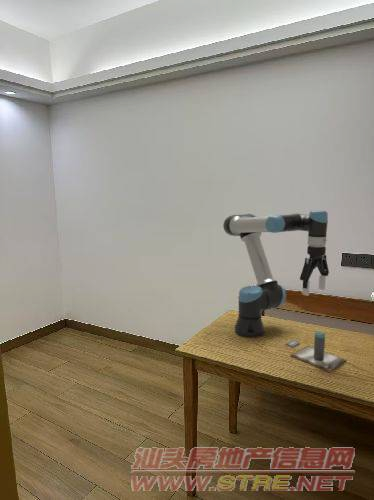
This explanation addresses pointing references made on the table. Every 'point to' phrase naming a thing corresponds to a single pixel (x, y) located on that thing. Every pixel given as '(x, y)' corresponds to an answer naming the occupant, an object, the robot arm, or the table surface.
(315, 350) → the marker
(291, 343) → the word card
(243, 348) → the table surface
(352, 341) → the table surface
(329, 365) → the clipboard
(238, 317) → the robot arm
